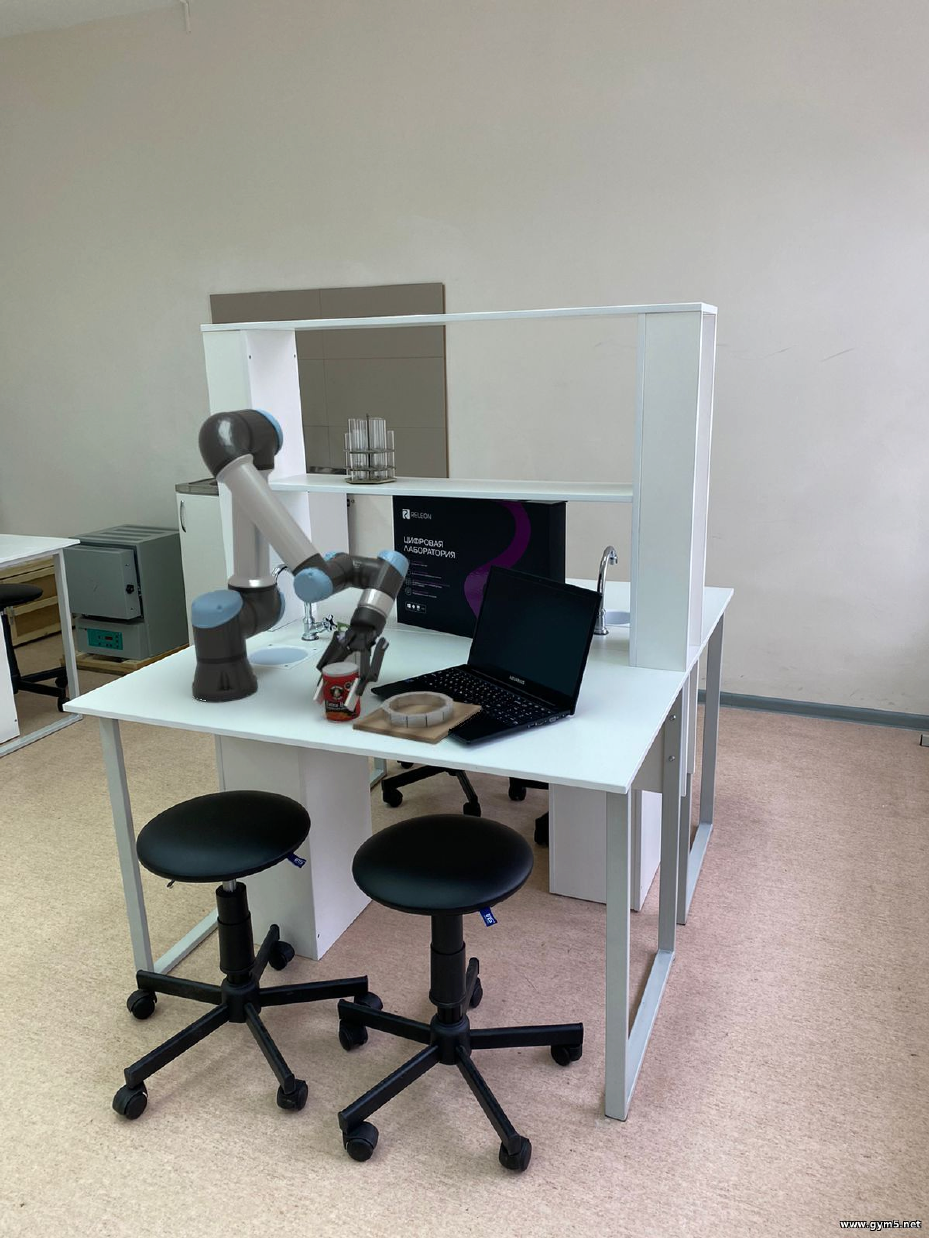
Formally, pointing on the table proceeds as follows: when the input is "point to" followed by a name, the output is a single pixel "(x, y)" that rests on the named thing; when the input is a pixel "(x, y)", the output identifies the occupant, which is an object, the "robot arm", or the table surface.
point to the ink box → (355, 655)
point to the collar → (417, 719)
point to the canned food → (339, 691)
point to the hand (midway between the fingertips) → (332, 705)
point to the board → (427, 735)
